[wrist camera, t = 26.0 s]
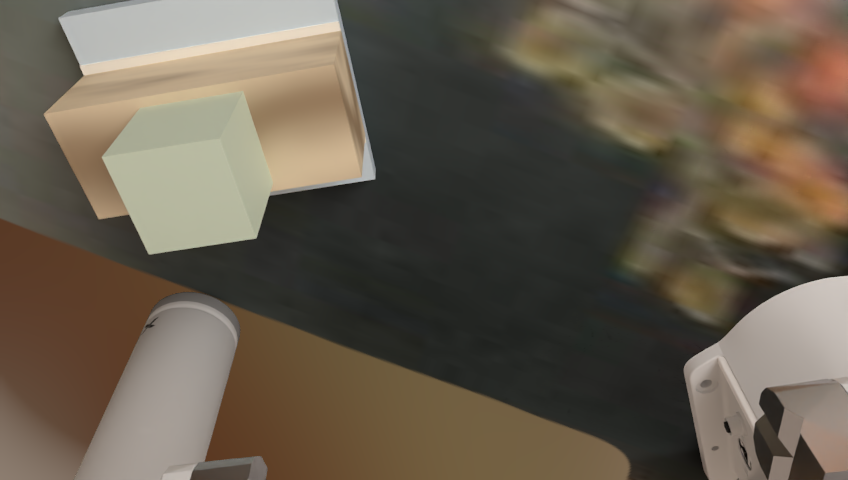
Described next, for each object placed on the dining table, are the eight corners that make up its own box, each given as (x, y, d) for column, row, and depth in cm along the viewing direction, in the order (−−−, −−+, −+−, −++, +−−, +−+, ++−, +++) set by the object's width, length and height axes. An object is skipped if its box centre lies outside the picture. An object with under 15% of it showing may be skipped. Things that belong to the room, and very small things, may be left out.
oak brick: (365, 134, 38) (361, 177, 34) (130, 172, 39) (98, 219, 35) (341, 30, 35) (333, 64, 31) (84, 75, 36) (43, 114, 31)
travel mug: (133, 293, 46) (-14, 583, 29) (229, 286, 46) (135, 572, 29) (160, 359, 49) (42, 650, 33) (249, 352, 49) (175, 641, 33)
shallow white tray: (375, 169, 41) (375, 180, 40) (155, 204, 42) (149, 215, 41) (329, -35, 34) (327, -29, 33) (67, 11, 35) (57, 19, 34)
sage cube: (273, 182, 34) (256, 238, 30) (178, 197, 34) (148, 254, 30) (243, 91, 31) (219, 138, 27) (140, 107, 31) (101, 157, 27)
